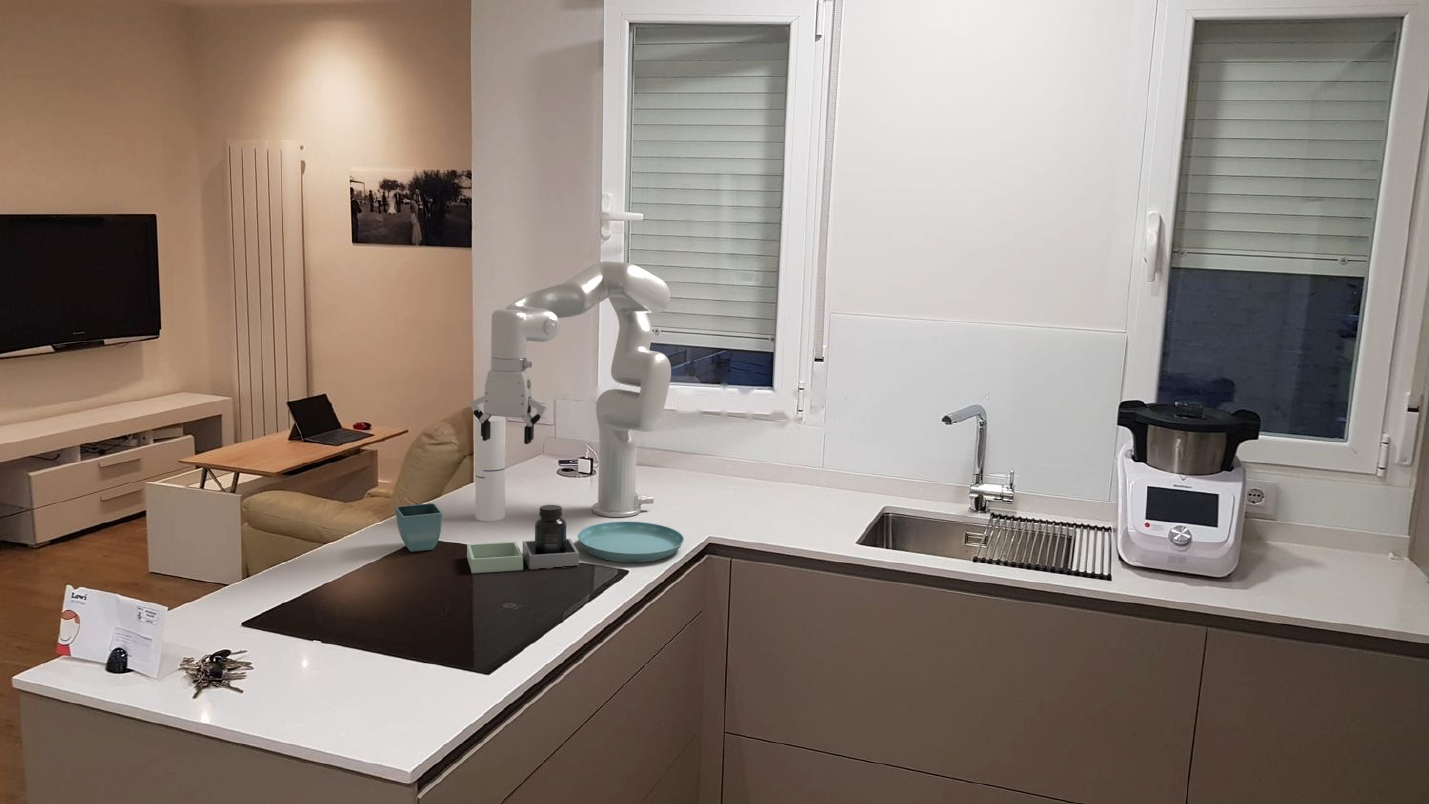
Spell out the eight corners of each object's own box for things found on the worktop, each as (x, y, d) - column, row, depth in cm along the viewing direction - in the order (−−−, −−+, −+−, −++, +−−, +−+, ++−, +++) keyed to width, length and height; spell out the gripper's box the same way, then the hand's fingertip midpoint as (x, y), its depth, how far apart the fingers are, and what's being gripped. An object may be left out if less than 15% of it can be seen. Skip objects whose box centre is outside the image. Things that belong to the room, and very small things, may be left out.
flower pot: (402, 556, 229) (402, 516, 227) (395, 544, 237) (394, 506, 235) (443, 551, 233) (443, 512, 232) (434, 540, 241) (434, 502, 239)
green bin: (516, 554, 233) (516, 541, 233) (522, 570, 223) (522, 556, 223) (467, 557, 230) (467, 544, 229) (471, 573, 220) (471, 559, 219)
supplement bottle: (571, 558, 232) (572, 505, 230) (557, 567, 226) (557, 513, 224) (543, 553, 234) (544, 501, 232) (528, 562, 228) (529, 509, 226)
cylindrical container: (501, 521, 257) (501, 421, 253) (472, 520, 258) (472, 420, 253) (507, 514, 265) (508, 416, 260) (479, 512, 265) (479, 415, 260)
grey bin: (569, 551, 237) (570, 538, 236) (578, 566, 227) (579, 553, 226) (522, 554, 234) (522, 541, 233) (529, 569, 224) (529, 555, 223)
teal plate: (604, 573, 224) (605, 558, 224) (560, 541, 245) (561, 527, 244) (702, 558, 237) (703, 544, 236) (653, 529, 257) (653, 516, 257)
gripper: (551, 366, 235) (549, 441, 238) (477, 361, 237) (476, 435, 240) (540, 370, 228) (539, 447, 230) (464, 365, 230) (463, 441, 233)
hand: (507, 441), depth 235 cm, fingers open, 9 cm apart
